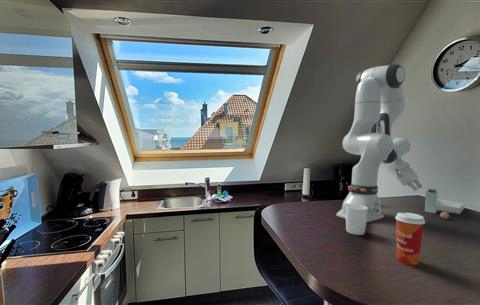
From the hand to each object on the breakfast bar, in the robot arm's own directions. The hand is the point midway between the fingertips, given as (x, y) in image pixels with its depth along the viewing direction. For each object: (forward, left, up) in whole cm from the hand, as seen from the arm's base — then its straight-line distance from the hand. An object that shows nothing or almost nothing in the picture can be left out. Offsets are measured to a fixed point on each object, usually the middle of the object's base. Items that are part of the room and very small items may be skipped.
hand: (419, 188), depth 141 cm
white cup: (-59, +8, -11) cm, 61 cm away
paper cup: (-72, -13, -11) cm, 74 cm away
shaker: (0, -6, -11) cm, 12 cm away
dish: (+12, -11, -11) cm, 19 cm away
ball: (-10, -13, -11) cm, 20 cm away
